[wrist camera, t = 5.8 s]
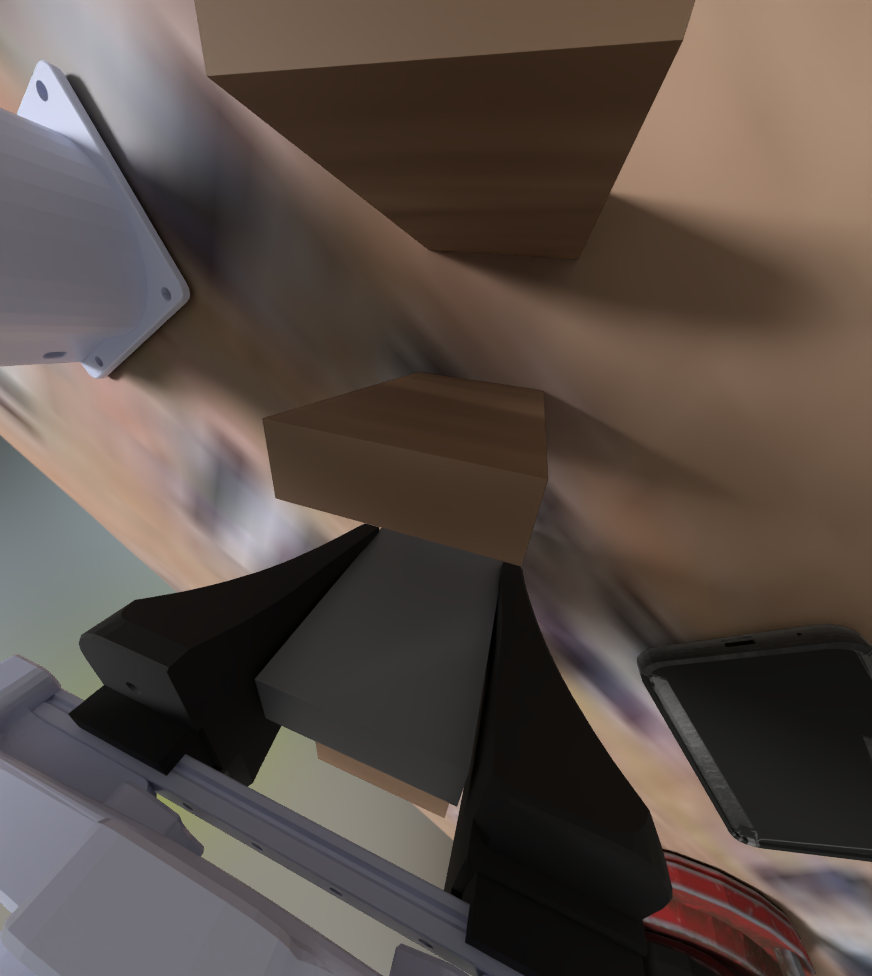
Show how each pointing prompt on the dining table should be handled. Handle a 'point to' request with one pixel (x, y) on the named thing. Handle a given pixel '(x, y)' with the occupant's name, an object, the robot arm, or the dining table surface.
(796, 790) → the phone
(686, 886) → the hourglass
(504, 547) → the domino
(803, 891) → the dining table surface
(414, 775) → the domino
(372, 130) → the domino
